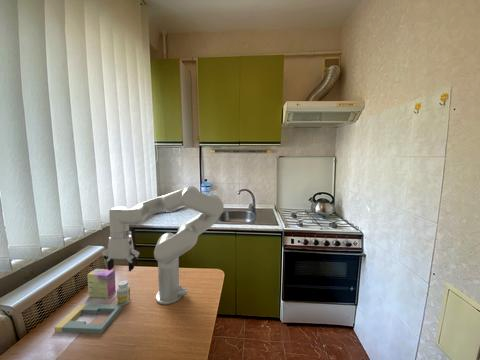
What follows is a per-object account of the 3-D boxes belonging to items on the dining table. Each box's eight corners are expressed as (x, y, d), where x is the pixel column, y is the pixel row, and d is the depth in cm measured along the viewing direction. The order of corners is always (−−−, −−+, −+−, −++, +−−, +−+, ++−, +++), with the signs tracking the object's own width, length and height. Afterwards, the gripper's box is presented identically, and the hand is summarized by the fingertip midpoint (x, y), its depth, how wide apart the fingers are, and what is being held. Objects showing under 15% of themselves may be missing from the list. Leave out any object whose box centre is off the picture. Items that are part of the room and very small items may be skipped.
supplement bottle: (123, 306, 95) (122, 287, 94) (114, 303, 97) (113, 284, 96) (133, 299, 100) (132, 280, 99) (125, 296, 102) (123, 278, 101)
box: (116, 291, 107) (114, 269, 105) (108, 298, 101) (106, 275, 100) (97, 289, 108) (96, 268, 106) (88, 297, 102) (86, 274, 101)
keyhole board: (121, 309, 94) (121, 305, 94) (101, 333, 81) (101, 328, 81) (81, 308, 95) (80, 303, 94) (54, 331, 82) (54, 327, 81)
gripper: (142, 231, 99) (143, 266, 100) (106, 230, 99) (108, 264, 101) (133, 237, 91) (135, 274, 93) (95, 236, 92) (97, 273, 94)
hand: (121, 269), depth 97 cm, fingers open, 9 cm apart
